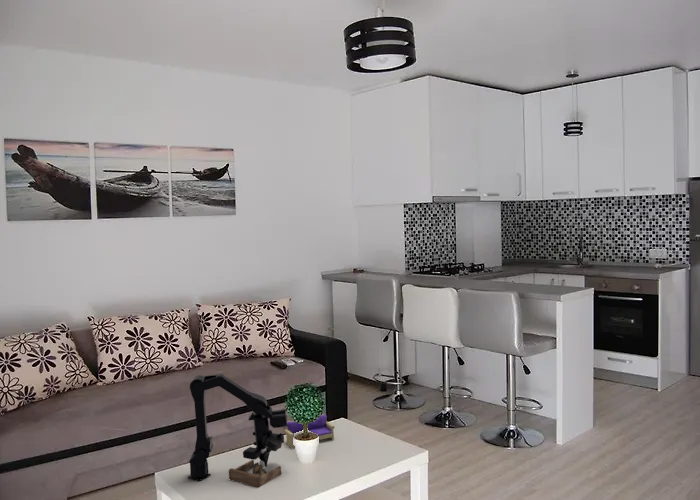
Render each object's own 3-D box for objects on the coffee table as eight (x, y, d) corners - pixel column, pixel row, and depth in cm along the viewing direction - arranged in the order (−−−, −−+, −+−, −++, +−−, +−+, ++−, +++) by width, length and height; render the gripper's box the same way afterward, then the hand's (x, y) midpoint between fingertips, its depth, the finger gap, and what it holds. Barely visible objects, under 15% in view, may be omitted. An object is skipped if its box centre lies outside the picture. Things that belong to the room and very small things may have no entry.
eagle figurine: (243, 473, 241) (248, 477, 233) (251, 455, 243) (256, 459, 235) (260, 480, 243) (266, 485, 235) (267, 462, 245) (274, 467, 237)
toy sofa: (291, 449, 268) (290, 426, 267) (284, 443, 276) (283, 421, 275) (335, 440, 277) (334, 418, 276) (327, 434, 285) (326, 413, 284)
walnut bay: (258, 487, 231) (258, 477, 230) (229, 479, 239) (228, 469, 238) (281, 474, 242) (280, 464, 242) (252, 467, 250) (251, 457, 250)
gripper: (262, 441, 232) (266, 480, 233) (292, 422, 248) (295, 459, 249) (240, 437, 237) (244, 475, 239) (270, 419, 253) (273, 455, 255)
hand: (265, 466), depth 245 cm, fingers closed
